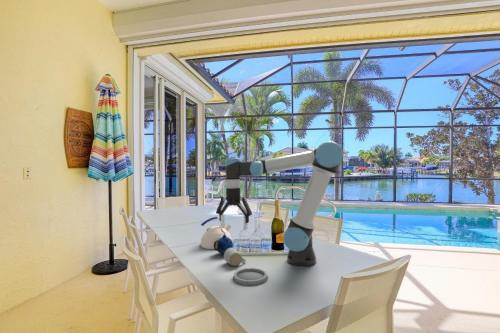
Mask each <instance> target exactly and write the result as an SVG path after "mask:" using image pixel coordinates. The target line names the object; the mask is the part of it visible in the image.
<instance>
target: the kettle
mask: <svg viewBox="0 0 500 333" xmlns="http://www.w3.org/2000/svg"><path fill="white" fill-rule="evenodd" d="M214 220H219V216H214V217H211V218H208V219H206V220H205V221H203V222H202V223H201V224H200V226H203V227H204V226H205V224H207V223H209V222H210V221H214ZM231 228H232V225H231V224H230V223H227V224H225V227H223V228H222V231H224V232H225V235H226V237H228V238H230V239H231V240H232V241H233V239H232V235H231V234H230V232H229V230H230V229H231ZM222 231H221V225H220V226H218V225H215V226H214V225H213V226H212V227H209V228H207V229H206V230H205V231H204V233H203V234H202V236H201V240H200V247H201V248H202V249H207V250H215V249H214V242H215V241H217V240H219V239H220V238H222V237H223V235H224V233H223V232H222Z"/></svg>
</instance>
